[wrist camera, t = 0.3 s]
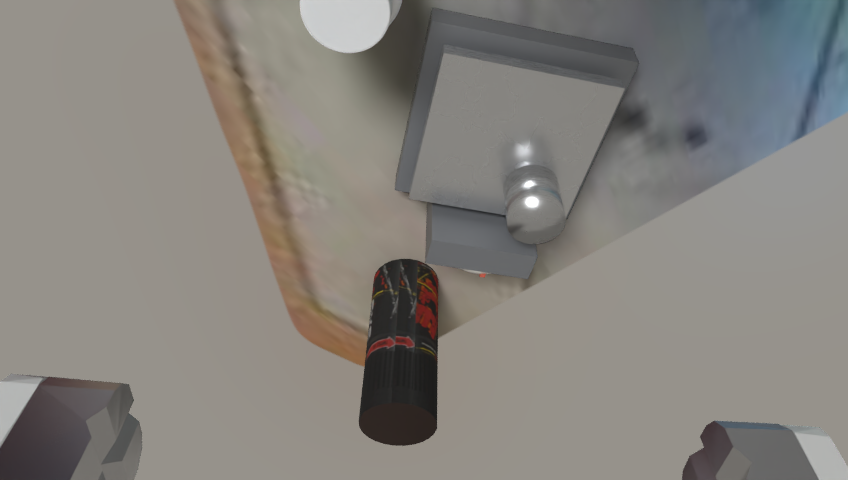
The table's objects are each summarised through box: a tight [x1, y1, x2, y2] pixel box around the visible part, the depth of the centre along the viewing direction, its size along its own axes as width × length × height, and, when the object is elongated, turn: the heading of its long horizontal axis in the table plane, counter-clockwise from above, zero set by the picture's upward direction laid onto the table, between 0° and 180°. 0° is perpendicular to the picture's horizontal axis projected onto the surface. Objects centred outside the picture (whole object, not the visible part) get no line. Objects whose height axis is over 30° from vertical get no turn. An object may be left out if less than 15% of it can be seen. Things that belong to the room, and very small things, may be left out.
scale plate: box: [409, 44, 625, 217], centre depth 47 cm, size 12×12×1 cm
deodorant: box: [359, 259, 438, 446], centre depth 56 cm, size 6×6×15 cm
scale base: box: [395, 8, 639, 279], centre depth 48 cm, size 17×14×7 cm
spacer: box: [503, 165, 566, 244], centre depth 47 cm, size 4×4×4 cm
